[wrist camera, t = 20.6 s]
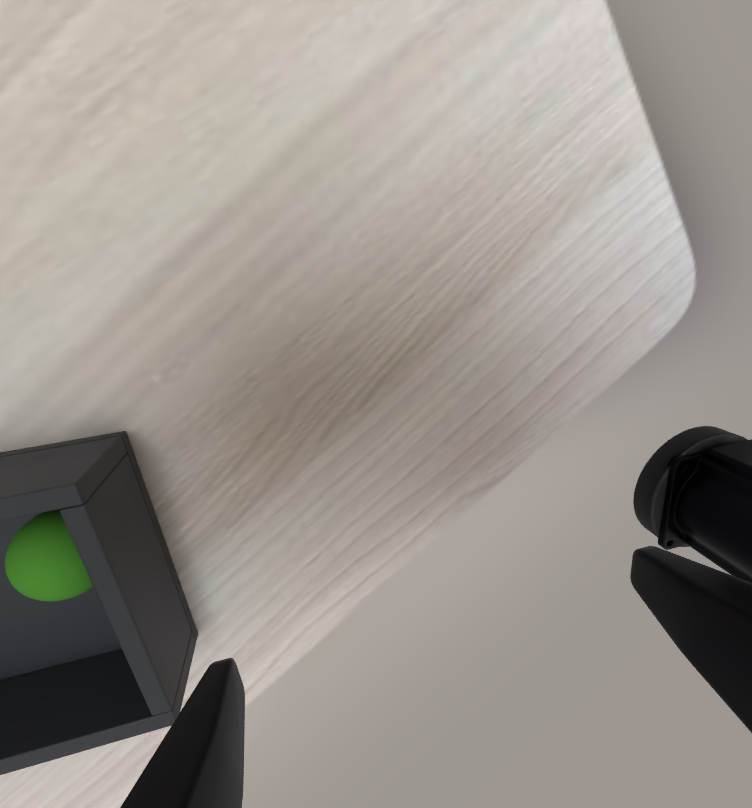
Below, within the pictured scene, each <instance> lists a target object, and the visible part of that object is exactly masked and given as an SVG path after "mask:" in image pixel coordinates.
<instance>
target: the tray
mask: <svg viewBox="0 0 752 808" xmlns="http://www.w3.org/2000/svg"><path fill="white" fill-rule="evenodd" d="M58 509H60V513H61V515H62V518H63V520H64V522H65V524H66V527H67V529H68V531H69V533H70V535H71V538H72V540H73V542H74V544H75V546H76V549H77V551H78V553H79V555H80V557H81V560H82V562H83V564H84V566H85V569H86V571H87V573H88V575H89V577H90V580H91V582H92V584H93V586H94V587H92V588H91V589H89V590H88V591H86V592H84V593H82V594H80V595H78V596H75V597H72V598H69V599H65V600H60V601H40V600H35V599H32V598H29V597H27V596H25V595H23V594H21V593H20V592H18V591H17V590H16V589H15V588H14V587H13V586H12V584H11V583H10V581H9V579H8V577H7V574H6V570H5V557H6V552H7V549H8V546H9V544H10V542H11V540H12V539H13V537H14V536H15V534H16V533H17V532H18V531H19V529H20V528H21V527H22V526H23V525H25V524H26V523H27V522H28V521H30V520H31V519H32V518H34V517H35V516H37V515H39V514H41V513H43V512H48V511H53V510H58ZM197 636H198V633H197V630H196V627H195V624H194V622H193V619H192V616H191V613H190V610H189V608H188V605H187V602H186V599H185V596H184V594H183V591H182V588H181V585H180V582H179V580H178V577H177V574H176V571H175V568H174V566H173V563H172V560H171V557H170V554H169V552H168V549H167V546H166V543H165V540H164V538H163V535H162V532H161V529H160V526H159V524H158V521H157V518H156V515H155V513H154V510H153V507H152V504H151V501H150V499H149V496H148V493H147V490H146V487H145V485H144V482H143V479H142V476H141V473H140V471H139V468H138V465H137V462H136V459H135V457H134V454H133V451H132V448H131V445H130V443H129V440H128V437H127V434H126V432H125V431H123V432H118V433H112V434H106V435H101V436H95V437H89V438H83V439H78V440H72V441H66V442H61V443H55V444H49V445H44V446H38V447H32V448H27V449H21V450H15V451H10V452H4V453H0V775H2V774H6V773H9V772H13V771H16V770H19V769H23V768H26V767H30V766H33V765H37V764H40V763H44V762H47V761H50V760H54V759H57V758H61V757H64V756H68V755H71V754H75V753H78V752H81V751H85V750H88V749H92V748H95V747H99V746H102V745H106V744H109V743H112V742H116V741H119V740H123V739H126V738H130V737H133V736H137V735H140V734H143V733H147V732H150V731H154V730H157V729H161V728H164V727H168V726H171V725H173V723H174V722H175V720H176V718H177V717H178V715H179V714H180V710H181V705H182V701H183V697H184V692H185V688H186V683H187V679H188V675H189V670H190V666H191V662H192V657H193V653H194V649H195V644H196V640H197Z"/></svg>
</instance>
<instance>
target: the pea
mask: <svg viewBox="0 0 752 808" xmlns="http://www.w3.org/2000/svg"><path fill="white" fill-rule="evenodd" d="M5 570H6V574H7V577H8V579H9V581H10V583H11V584H12V586H13V587H14V588H15V589H16V590H17V591H18V592H20V593H21V594H23V595H25V596H27V597H29V598H32V599H35V600H40V601H60V600H65V599H69V598H72V597H75V596H78V595H80V594H82V593H84V592H86V591H88V590H89V589H91V588H92V587H94V586H93V584H92V582H91V580H90V577H89V575H88V573H87V571H86V569H85V566H84V564H83V562H82V560H81V557H80V555H79V553H78V551H77V549H76V546H75V544H74V542H73V540H72V538H71V535H70V533H69V531H68V529H67V527H66V524H65V522H64V520H63V518H62V515H61V513H60V509H58V510H53V511H48V512H43V513H41V514H39V515H37V516H35V517H34V518H32V519H31V520H30V521H28V522H27V523H26V524H25V525H23V526H22V527H21V528H20V529H19V531H18V532H17V533H16V534H15V536H14V537H13V539H12V540H11V542H10V544H9V546H8V549H7V552H6V557H5Z"/></svg>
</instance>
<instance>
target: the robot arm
mask: <svg viewBox="0 0 752 808" xmlns="http://www.w3.org/2000/svg"><path fill="white" fill-rule="evenodd" d="M658 544H659V545H660V546H662V547H663V548H664V549H666V550H668V549H672V548H676V547H680V546H683V545H689V546H690V547H692V548H693V549H695V550H696V551H698V552H699V553H700V554H702V555H703V556H705V557H706V558H708V559H709V560H711V561H712V562H713V563H715V564H716V565H718V566H719V567H721V568H722V569H724V570H725V571H727V572H728V573H729V574H731V575H729V574H726V573H724V572H721V571H718V570H716V569H713V568H711V567H708V566H705V565H703V564H700V563H697V562H695V561H691V560H689V559H687V558H684V557H681V556H679V555H676V554H673V553H671V552H668V551H665V550H662V549H660V548H657V547H654V546H648V547H644V548H640V549H637V550H635V551H634V553H633V559H632V567H631V582H632V585H633V587H634V588H635V590H636V591H637V593H638V594H639V595H640V597H641V598H642V600H643V601H644V602H645V604H646V605H647V606H648V608H649V609H650V610H651V611H652V613H653V614H654V616H655V617H656V618H657V620H658V621H659V623H660V624H661V625H662V627H663V628H664V629H665V631H666V632H667V633H668V635H669V636H670V637H671V639H672V640H673V641H674V643H675V644H676V645H677V647H678V648H679V649H680V650H681V652H682V653H683V654H684V655H685V657H686V658H687V659H688V660H689V661H690V663H691V664H692V665H693V666H694V667H695V668H696V670H697V671H698V672H699V673H700V674H701V675H702V676H703V678H704V679H705V680H706V681H707V682H708V683H709V684H710V686H711V687H712V688H713V689H714V690H715V691H716V692H717V694H718V695H719V696H720V697H721V698H722V699H723V701H724V702H725V703H726V704H727V705H728V706H729V707H730V708H731V710H732V711H733V712H734V713H735V714H736V715H737V717H738V718H739V719H740V720H741V721H742V722H743V723H744V724H745V726H746V727H747V728H748V729H749V730H750V731H751V733H752V440H748V441H742V442H738V443H734V444H729V445H725V446H721V447H717V448H712V449H709V450H705V451H701V452H696V453H692V454H688V455H683V456H679V457H676V458H674V459H673V460H672V461H671V463H670V466H669V472H668V479H667V485H666V492H665V498H664V505H663V511H662V518H661V524H660V530H659V537H658ZM244 719H245V693H244V686H243V683H242V680H241V677H240V674H239V671H238V668H237V665H236V663H235V661H234V659H233V658H228V659H224V660H220V661H216V662H214V663H212V664H211V665H210V666H209V667H208V669H207V671H206V672H205V674H204V675H203V677H202V679H201V680H200V682H199V683H198V685H197V686H196V688H195V690H194V691H193V693H192V694H191V696H190V698H189V699H188V701H187V702H186V704H185V706H184V707H183V709H182V710H181V712H180V714H179V715H178V717H177V718H176V720H175V722H174V723H173V725H172V726H171V728H170V730H169V731H168V733H167V734H166V736H165V738H164V739H163V741H162V742H161V744H160V745H159V747H158V749H157V750H156V752H155V753H154V755H153V757H152V758H151V760H150V761H149V763H148V765H147V766H146V768H145V769H144V771H143V773H142V774H141V776H140V777H139V779H138V781H137V782H136V784H135V785H134V787H133V789H132V790H131V792H130V793H129V795H128V797H127V798H126V800H125V801H124V803H123V804H122V806H121V808H242V798H243V777H244V775H243V774H244Z"/></svg>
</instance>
